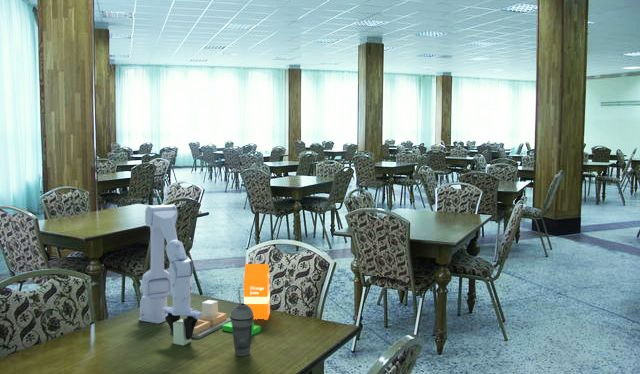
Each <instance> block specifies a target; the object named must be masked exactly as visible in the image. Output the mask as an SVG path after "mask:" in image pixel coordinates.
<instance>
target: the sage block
mask: <svg viewBox="0 0 640 374" xmlns="http://www.w3.org/2000/svg"><path fill="white" fill-rule="evenodd" d="M172 338H173V339H172V340H173V341H172V342H173V344H175V345H180V346H185V345H187V344H189V343H192V338H191V339H189V340H186V331H185V325H184V322H183V318H180V320H178V321H175V322H173V336H172Z"/></svg>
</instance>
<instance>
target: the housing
mask: <svg viewBox="0 0 640 374" xmlns="http://www.w3.org/2000/svg"><path fill="white" fill-rule="evenodd" d="M229 322H231V319H230V317H227V313H226V312H225V313H224V312H219V311H218V316H217V317H215V318H213V319H211V318H205V317H202V318H200V319H198V321H197V323H196V325H195V327H194V330H193V334H192V338H193V339H199V340H200V339H202V338H204V337H205V336H209V333H210V334H212V333H213V331H214V332H215V331H217V330H219V329H221V328H222V325H224V324H227V323H229ZM211 332H212V333H211ZM169 334H171V335H172V332H171V330H170V331H169ZM192 338H191V339H192Z"/></svg>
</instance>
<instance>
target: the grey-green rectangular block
mask: <svg viewBox="0 0 640 374" xmlns="http://www.w3.org/2000/svg"><path fill="white" fill-rule="evenodd" d="M218 303H219V301H218V300H212V299H208V300H205V301H203V302H201V312H202V317H205V318H211V319H213V318H215V317H217V316H218V312H219V307H218V305H219V304H218Z"/></svg>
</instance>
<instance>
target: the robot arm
mask: <svg viewBox="0 0 640 374" xmlns="http://www.w3.org/2000/svg"><path fill="white" fill-rule="evenodd" d="M144 214H145V215H144V217H145V218H144V219H145V220H144V221H145V226H146V227H148V228H149V230H150V268H149V270H147V271H146V272H145V273H144V274H142V280H141V283H140V284H141V286H140V287H141V292H142V296H141V298H140V301H139V318H138V321H141V322H146V323H147V322H148V323H152V324H161V323H163V322H166V323H167V324H168V327H169V328H170V331H171V332H172V334H171V336H172V337H173V322H175V321H178V320H180V319H181V317H186V318H184V319H183V318H182V319H183V322H184V325H185V331H186V340H189V339H191V340H192V334H193V330H194V327H195V325H196V323H197V321H198V319H200V318H202V311H198V310H196V309H193V308H192V307H191V306H192V304H191V303H192V302H191V277H192V276H193V274H194V273H193V272H194V266H193V261H192V259H190V257H189V256H187V254H186V251H185V248H184V244H183V241H180V240H178V235H177V229H176V223H177V220H178V215H179V214H178V208H177V206H176V205H175V204H174V203H171V204H162V205H161V204H160V205H147V207H146V208H145V213H144ZM165 241H166V243H167V244H166V245H165ZM165 252H166V254H167V259H168V262H169V266H168V270H166V269H165ZM171 292H172V306H168V296H169V294H170V293H171Z"/></svg>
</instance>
